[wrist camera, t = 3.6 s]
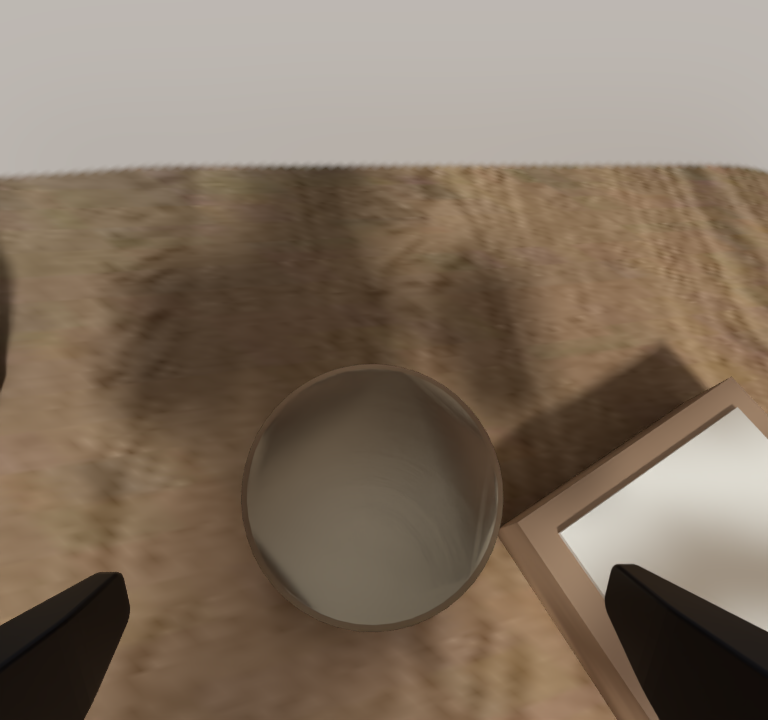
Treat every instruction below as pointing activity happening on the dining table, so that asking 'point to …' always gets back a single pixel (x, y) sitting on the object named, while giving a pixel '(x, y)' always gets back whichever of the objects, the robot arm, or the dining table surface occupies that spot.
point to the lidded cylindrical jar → (372, 497)
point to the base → (654, 530)
